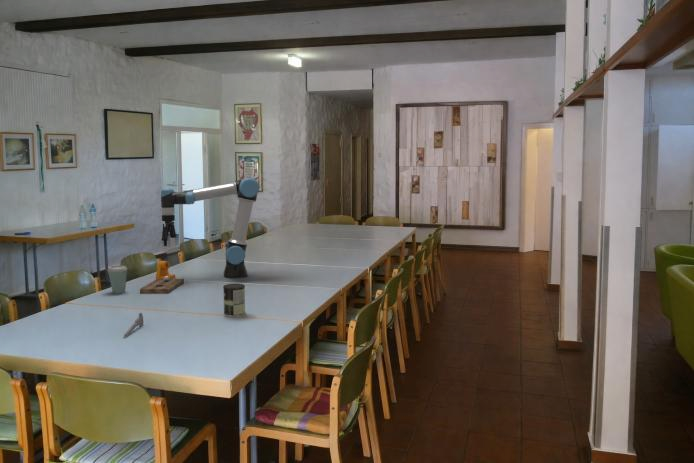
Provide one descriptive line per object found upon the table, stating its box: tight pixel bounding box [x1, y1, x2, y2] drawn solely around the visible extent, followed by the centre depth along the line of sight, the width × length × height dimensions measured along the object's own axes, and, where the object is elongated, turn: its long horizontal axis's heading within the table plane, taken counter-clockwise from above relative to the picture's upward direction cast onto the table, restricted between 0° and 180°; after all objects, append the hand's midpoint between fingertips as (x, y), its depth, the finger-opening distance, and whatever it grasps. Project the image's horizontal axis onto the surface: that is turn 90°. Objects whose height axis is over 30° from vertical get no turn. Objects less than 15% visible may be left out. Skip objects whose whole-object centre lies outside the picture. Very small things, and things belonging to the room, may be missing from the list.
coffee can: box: [222, 283, 246, 318], centre depth 290 cm, size 10×10×14 cm
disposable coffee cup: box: [107, 264, 128, 295], centre depth 339 cm, size 11×11×15 cm
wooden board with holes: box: [139, 278, 185, 295], centre depth 352 cm, size 16×30×2 cm, turn 179°
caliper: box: [123, 312, 144, 339], centre depth 262 cm, size 20×1×6 cm, turn 178°
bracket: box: [155, 260, 176, 280], centre depth 375 cm, size 11×7×12 cm, turn 162°
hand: (169, 249), depth 365 cm, fingers open, 12 cm apart
